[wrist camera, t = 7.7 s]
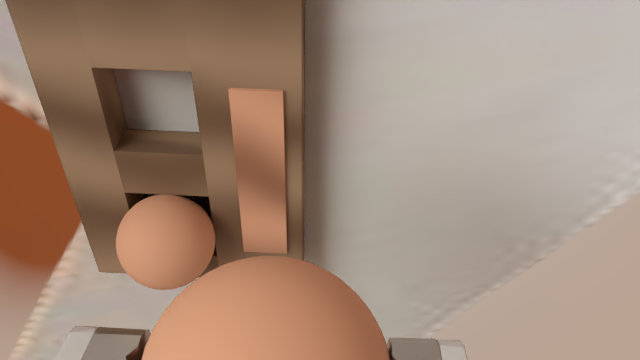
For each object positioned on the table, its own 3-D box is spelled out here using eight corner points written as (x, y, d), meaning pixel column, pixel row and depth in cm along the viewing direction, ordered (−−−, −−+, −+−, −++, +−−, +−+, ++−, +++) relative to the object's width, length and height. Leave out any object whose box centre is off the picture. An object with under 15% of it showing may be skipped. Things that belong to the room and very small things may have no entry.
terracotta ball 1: (227, 244, 31) (209, 312, 27) (143, 239, 31) (112, 307, 27) (219, 176, 28) (197, 242, 24) (126, 172, 28) (88, 237, 24)
